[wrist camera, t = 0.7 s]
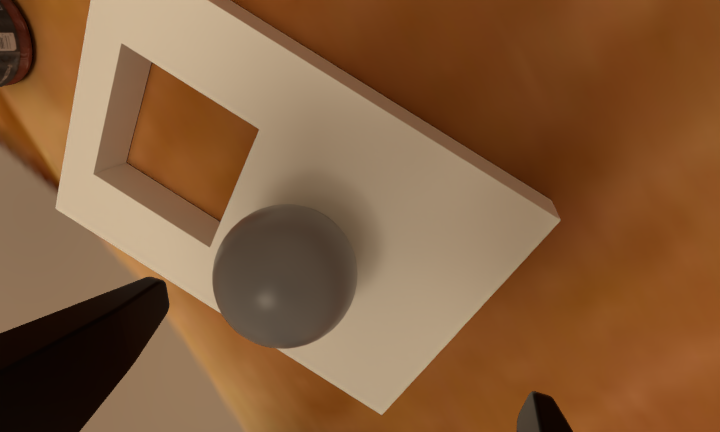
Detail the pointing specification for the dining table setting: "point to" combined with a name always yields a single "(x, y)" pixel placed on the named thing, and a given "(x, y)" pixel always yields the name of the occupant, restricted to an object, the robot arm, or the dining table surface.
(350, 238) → the deck
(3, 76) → the supplement bottle
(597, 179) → the dining table surface
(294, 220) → the ball
